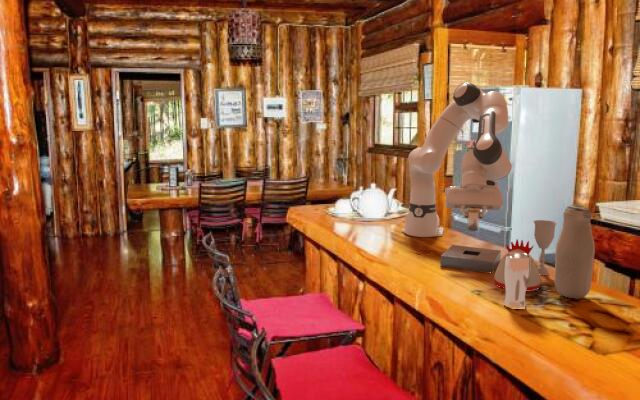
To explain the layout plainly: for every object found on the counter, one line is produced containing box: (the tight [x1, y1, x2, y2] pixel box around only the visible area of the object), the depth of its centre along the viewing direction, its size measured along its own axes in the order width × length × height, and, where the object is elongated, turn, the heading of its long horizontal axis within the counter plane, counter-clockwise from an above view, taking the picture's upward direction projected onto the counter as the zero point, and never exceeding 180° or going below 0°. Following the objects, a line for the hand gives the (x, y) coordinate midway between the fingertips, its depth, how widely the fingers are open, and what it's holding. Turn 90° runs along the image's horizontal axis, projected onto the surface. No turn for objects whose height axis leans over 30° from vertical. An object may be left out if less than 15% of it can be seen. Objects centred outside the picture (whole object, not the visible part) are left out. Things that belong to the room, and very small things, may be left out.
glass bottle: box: [553, 204, 596, 300], centre depth 157 cm, size 10×10×28 cm
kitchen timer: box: [493, 238, 541, 290], centre depth 169 cm, size 14×14×15 cm
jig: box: [439, 244, 502, 274], centre depth 194 cm, size 18×18×4 cm
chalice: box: [533, 219, 558, 276], centre depth 181 cm, size 7×7×18 cm
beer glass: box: [503, 252, 531, 308], centre depth 150 cm, size 7×7×15 cm
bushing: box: [466, 207, 482, 232], centre depth 192 cm, size 5×5×8 cm
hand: (473, 217), depth 191 cm, fingers closed on bushing, 4 cm apart
